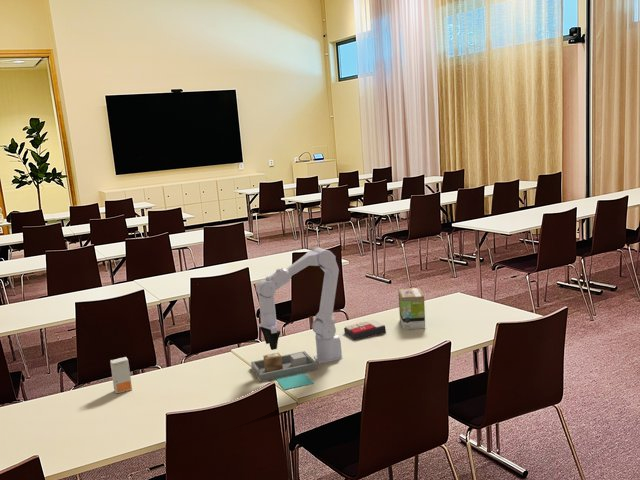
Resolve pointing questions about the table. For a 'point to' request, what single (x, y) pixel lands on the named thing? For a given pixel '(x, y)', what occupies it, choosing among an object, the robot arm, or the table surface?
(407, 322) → the tea box
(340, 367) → the table surface
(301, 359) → the grey box
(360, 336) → the black and red box
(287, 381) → the mat
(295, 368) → the parts bin
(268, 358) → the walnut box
